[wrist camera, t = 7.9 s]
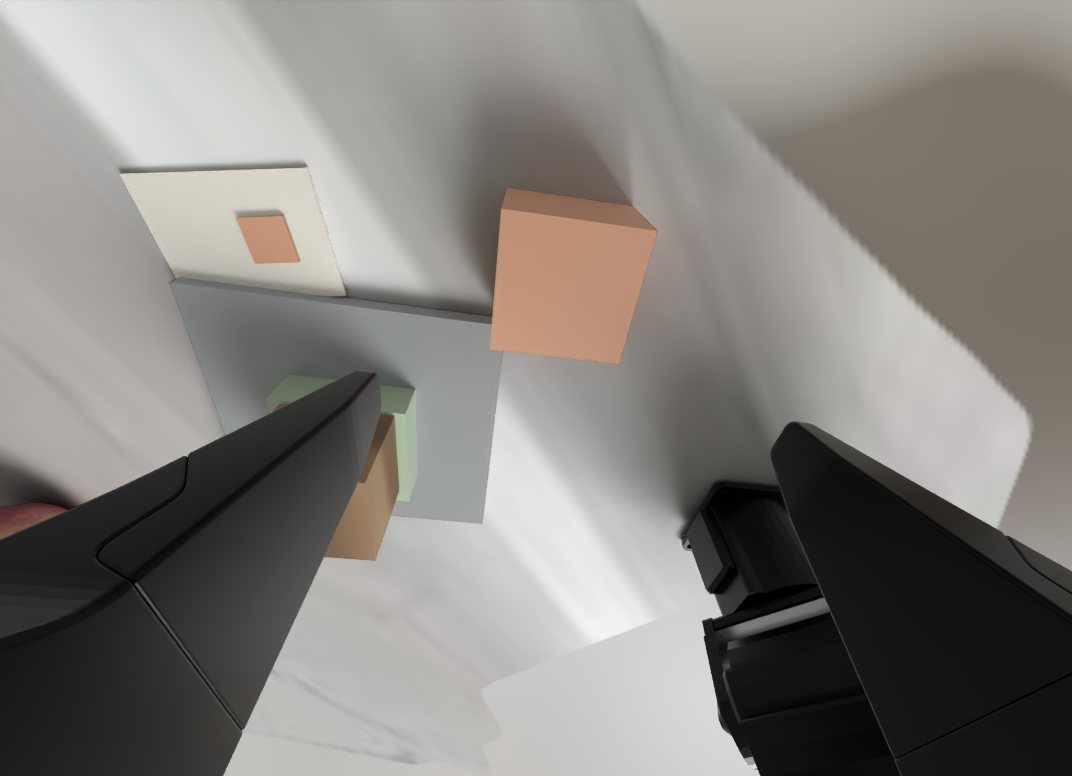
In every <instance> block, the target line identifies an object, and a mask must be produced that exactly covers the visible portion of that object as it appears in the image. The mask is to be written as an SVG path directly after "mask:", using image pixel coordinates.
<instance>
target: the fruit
mask: <svg viewBox="0 0 1072 776" xmlns="http://www.w3.org/2000/svg"><path fill="white" fill-rule="evenodd" d="M65 511H67V509H65V508H63V507H60V506H56V505H51V504H43V503H38V502H33V503H26V504H19V505H13V506H0V539H2V538H4V537H7V536H9V535H11V534H14V533H16V532H18V531H21V530H23V529H25V528H28V527H30V526H32V525H35V524H37V523H39V522H42V521H44V520H46V519H49V518H51V517H53V516H56V515H58V514H60V513H63V512H65Z"/></svg>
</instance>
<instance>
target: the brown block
mask: <svg viewBox="0 0 1072 776" xmlns="http://www.w3.org/2000/svg"><path fill="white" fill-rule="evenodd" d="M286 405H287V404H279V405H278V406H277V407H276V408H275V409H274V410H273V411H275V410H277V409H279V408H281V407H284V406H286ZM398 493H399V476H398V460H397V445H396V429H395V416H390V415H380V417H379V421H378V424H377V427H376V430H375V433H374V436H373V440H372V443H371V446H370V449H369V452H368V455H367V459H366V462H365V465H364V468H363V471H362V474H361V477H360V479H359V481H358V484H357V486H356V488H355V491H354V493H353V495H352V497H351V499H350V501H349V504H348V506H347V508H346V510H345V512H344V514H343V517H342V519H341V521H340V523H339V525H338V527H337V530H336V532H335V534H334V536H333V538H332V540H331V543H330V545H329V547H328V549H327V551H326V553H325V555H324V557H332V558H345V559H359V560H372V561H375V560H376V557H377V554H378V551H379V548H380V545H381V542H382V539H383V537H384V534H385V531H386V528H387V525H388V522H389V519H390V516H391V513H392V510H393V508H394V505H395V502H396V499H397V496H398Z"/></svg>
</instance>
